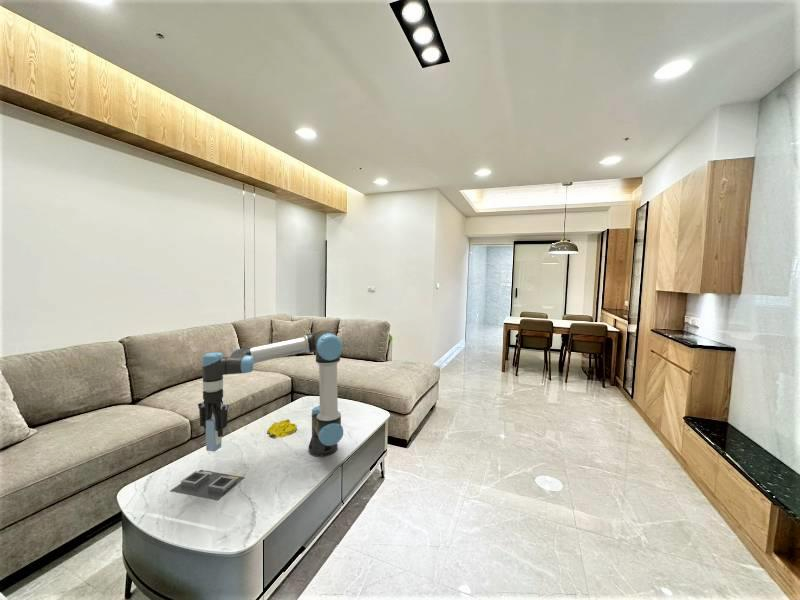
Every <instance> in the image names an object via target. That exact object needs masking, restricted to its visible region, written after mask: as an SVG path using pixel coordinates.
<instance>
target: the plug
mask: <svg viewBox="0 0 800 600" xmlns="http://www.w3.org/2000/svg"><path fill="white" fill-rule="evenodd" d="M216 429H217V427H216V421H215V416H212V418H210V419H208V420H206V435H205V445H206V446H205V447H206V450H205V451H207V452H214V453H215V452H217V450H219V449H220V448H222V442H221V443H219V444H218V445H215V430H216Z"/></svg>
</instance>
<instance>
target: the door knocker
mask: <svg viewBox="0 0 800 600" xmlns="http://www.w3.org/2000/svg"><path fill="white" fill-rule="evenodd" d="M296 430H297V424H296V423H291V421H290V419H284V420H280V421H279V422H276V421H275V422H273V424H272V425H270V426H269V428H268V429H267V430H266V433H267V434H269V436H274V439H277V438H284V437H287V436H289V435H292V434H293V433H294V434H295V432H296Z"/></svg>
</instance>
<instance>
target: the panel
mask: <svg viewBox="0 0 800 600" xmlns="http://www.w3.org/2000/svg"><path fill="white" fill-rule="evenodd" d="M245 478H246V477H245V476H241V475H240V476H239V475H232V474H229V473H228V474H227V473H223V472H217V471H216V472H215V471H209V470H204V469H200V470H198V471H197V470H195V471H194V472H193V471H192V473H190V474H189V475H188V476H186V477H185V478H182V479H181V480H180V484H178V485H176V486H175V487H173V488H172V489H170V492H171V493H177V494H182V495H187V496H191V497H192V496H193V497H198V498H203V499H208V500H212V501H219V500H220V499H222V498H223V497H224V496H225V495H226V494H228V493H229V492H230V491H231V490H232V489H233V488H234V487H236V486H237V485H238V484H239V483H241V481H244V479H245Z"/></svg>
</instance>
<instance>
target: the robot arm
mask: <svg viewBox="0 0 800 600" xmlns="http://www.w3.org/2000/svg"><path fill="white" fill-rule="evenodd" d="M342 351H343V343H342V341H341V339H340V338H339V337H338V336H337V335H336V334H334V333H332V332H331V331H328V330H318V331H314V332H310V333H307V334H304V335H303V336H301V337H296V338H293V339H287V340H282V341H277V342H272V343H268V344H264V345H259V346H254V347H250V348H244V349H243V348H237V349H235V350H234V351H232V353H231V354H230V356H224V354H223V353H222V352H219V351H218V352H215V351H214V352H209V353H205V354H204V355H203V356H202V365H201V367H202V369H201V370H202V400H203V401H202V402H200V403H199V402H198V404H197V406H198V409H199V410H198V411H199V414H198V415H199V426H200V427H203V429H204V435H205V436H206V420H208V419H210V418H212V417H215V421H216V427H217V429H216V430H215V445H218V444H219V443H221V444H222V442H223V441H222V436H224V434H223V433H224V430H223V429H224V428H227V427H228V411H229V410H228V409H229V407H230V405H229V404H224V401H223V398H224V389H223V388H224V376H226V375H227V376H228V375H236V374H237V375H239V374H241V375H242V374H247V373H248V374H249V373H252V372H253V371H254V364H256V363H260V362H265V361H270V360H276V359H279V358H283V357H284V358H285V357H288V356H292V355H296V354H301V353H307V354H309V353H315V363H316V364H317V365H318V370H319V371H318V374H319V375H318V377H319V378H318V379H319V382H318V383H319V387H318V388H319V405H318V406H314V407H313V408H312V410H311V438H310V441H309V444H308V453H309V454H310V455H312V456H314V457H326V456H330V455H333V454H334V453H335V452H337V450H338V448H339V447H338V443H339V442H340V441H341V440H342V438H343V436H344V428H343V426H342V414H341V412H340V411H339V409H338V408H339V407H338V402H339V401H338V364H339V362H340V361H341V355H342Z"/></svg>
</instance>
